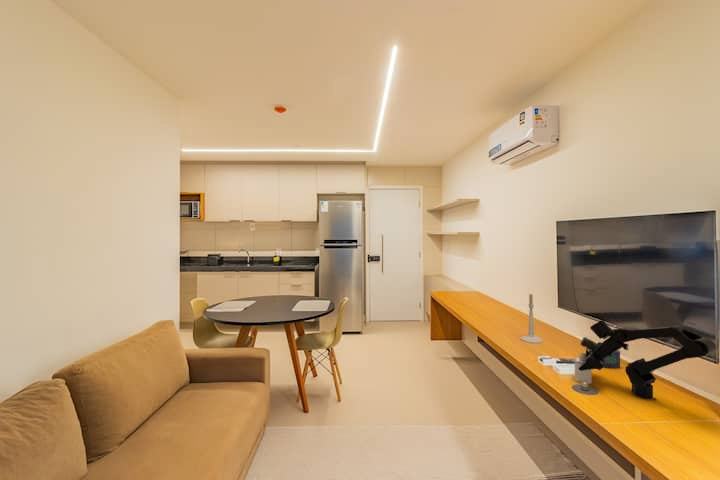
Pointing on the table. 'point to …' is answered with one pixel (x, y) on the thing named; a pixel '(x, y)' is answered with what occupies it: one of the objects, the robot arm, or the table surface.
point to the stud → (585, 386)
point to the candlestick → (531, 326)
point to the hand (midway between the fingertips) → (579, 366)
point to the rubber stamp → (584, 374)
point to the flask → (612, 360)
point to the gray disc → (578, 389)
